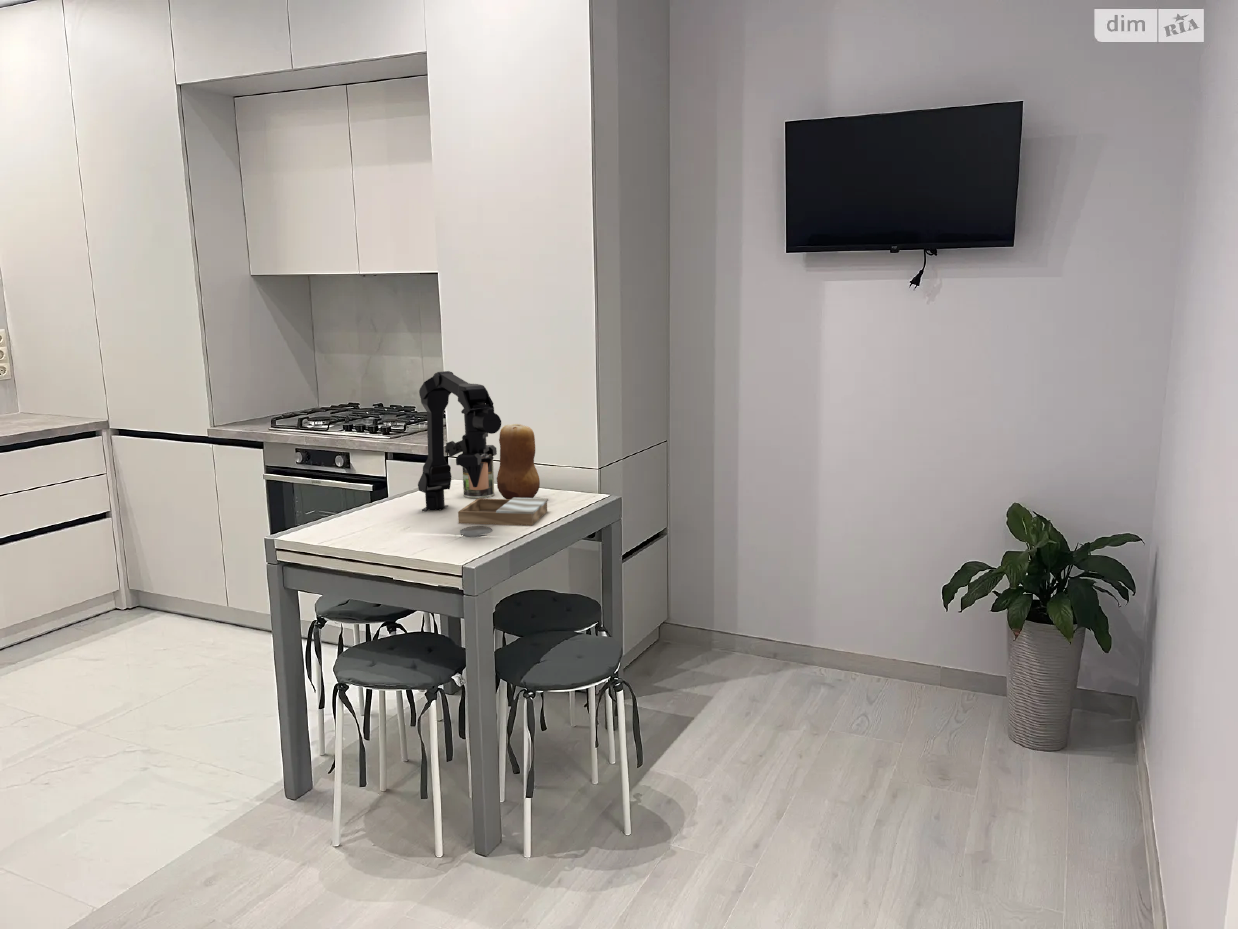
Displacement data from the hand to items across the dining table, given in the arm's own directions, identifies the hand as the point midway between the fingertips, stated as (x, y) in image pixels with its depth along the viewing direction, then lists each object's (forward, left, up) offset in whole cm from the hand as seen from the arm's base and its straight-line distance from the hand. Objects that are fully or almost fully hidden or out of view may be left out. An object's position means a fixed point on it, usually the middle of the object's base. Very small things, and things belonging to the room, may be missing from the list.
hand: (478, 485), depth 268 cm
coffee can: (-41, -15, -13) cm, 46 cm away
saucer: (+5, 0, -13) cm, 14 cm away
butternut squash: (-33, +1, -13) cm, 36 cm away
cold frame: (-11, +3, -13) cm, 17 cm away
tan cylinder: (0, 0, -1) cm, 1 cm away
